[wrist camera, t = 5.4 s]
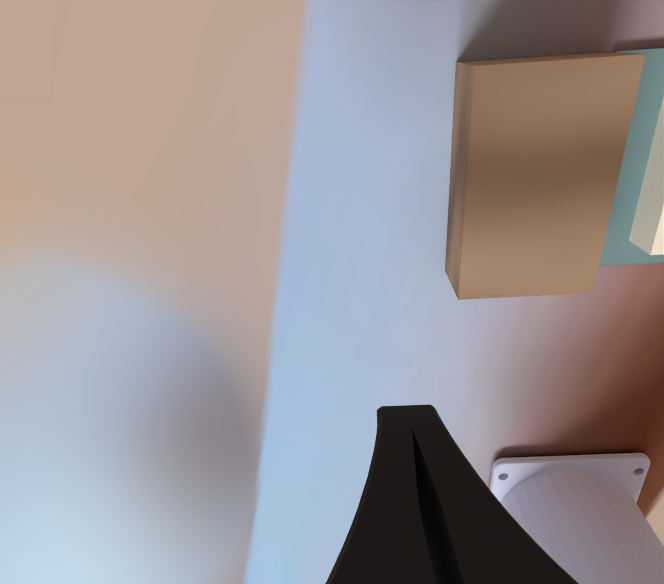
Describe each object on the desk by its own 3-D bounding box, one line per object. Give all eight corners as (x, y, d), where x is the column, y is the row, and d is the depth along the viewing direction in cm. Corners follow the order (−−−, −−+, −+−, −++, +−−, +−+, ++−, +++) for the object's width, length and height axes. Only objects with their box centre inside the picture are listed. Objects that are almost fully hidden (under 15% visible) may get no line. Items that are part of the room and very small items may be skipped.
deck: (565, 264, 20) (593, 292, 18) (445, 271, 20) (458, 299, 18) (603, 52, 16) (645, 54, 14) (456, 62, 16) (474, 66, 14)
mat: (697, 257, 20) (702, 260, 19) (572, 264, 20) (575, 267, 20) (767, 40, 16) (774, 40, 16) (612, 51, 16) (617, 51, 16)
